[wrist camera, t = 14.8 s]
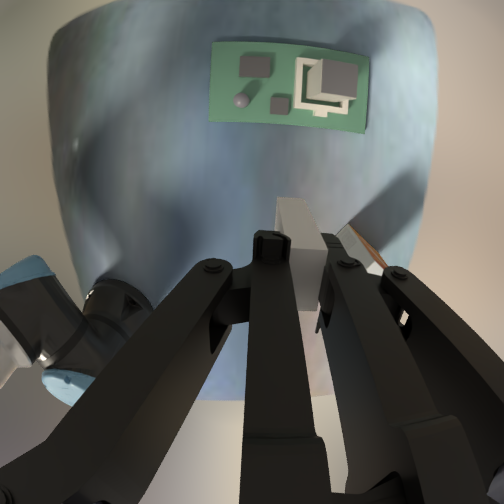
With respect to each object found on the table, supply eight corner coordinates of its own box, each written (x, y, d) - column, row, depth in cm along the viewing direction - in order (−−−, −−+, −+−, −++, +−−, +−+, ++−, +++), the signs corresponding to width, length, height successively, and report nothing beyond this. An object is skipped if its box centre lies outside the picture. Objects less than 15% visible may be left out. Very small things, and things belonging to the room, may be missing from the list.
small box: (377, 251, 46) (408, 294, 35) (351, 276, 48) (374, 324, 37) (347, 221, 44) (375, 260, 32) (320, 249, 46) (338, 295, 35)
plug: (305, 98, 35) (320, 93, 26) (307, 72, 33) (322, 58, 24) (334, 102, 35) (357, 98, 26) (335, 76, 33) (359, 64, 24)
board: (210, 121, 38) (205, 121, 35) (213, 43, 33) (209, 37, 29) (361, 133, 38) (370, 135, 35) (366, 58, 32) (375, 54, 29)
